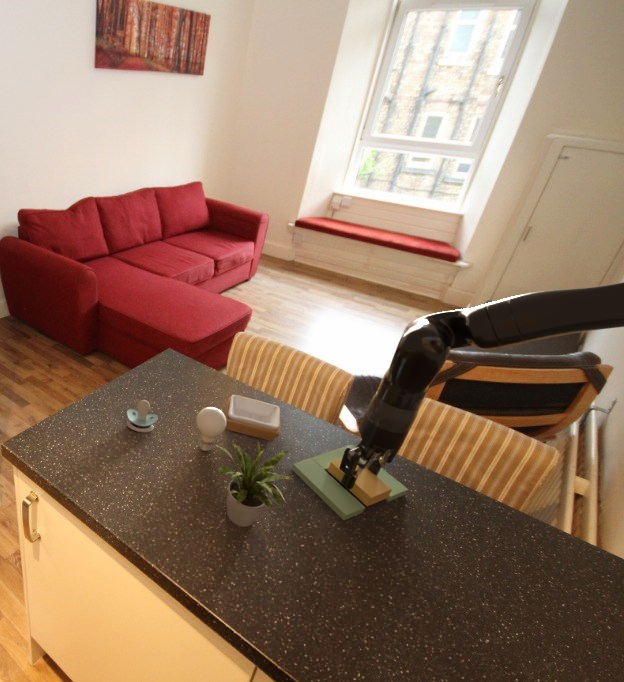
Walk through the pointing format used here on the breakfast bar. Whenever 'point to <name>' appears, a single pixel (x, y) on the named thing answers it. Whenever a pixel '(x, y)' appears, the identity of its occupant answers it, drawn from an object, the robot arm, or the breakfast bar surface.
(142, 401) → the pacifier
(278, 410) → the soap dish
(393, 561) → the breakfast bar surface
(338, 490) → the green u-shaped block
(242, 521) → the house plant
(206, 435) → the lightbulb
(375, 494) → the ochre pad
